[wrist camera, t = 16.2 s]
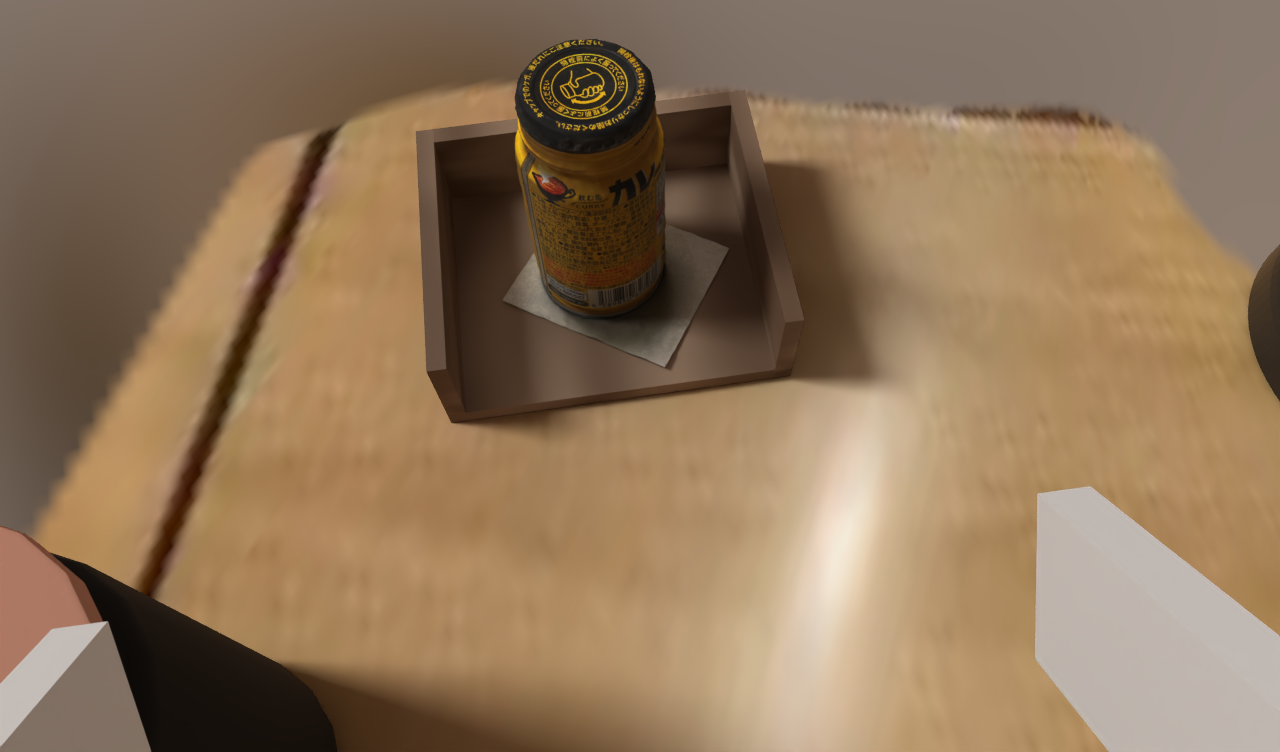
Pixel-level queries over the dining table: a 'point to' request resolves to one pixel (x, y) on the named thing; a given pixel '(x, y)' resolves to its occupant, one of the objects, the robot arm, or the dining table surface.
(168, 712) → the coffee jar
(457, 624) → the dining table surface
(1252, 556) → the dining table surface
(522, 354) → the caddy
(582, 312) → the condiment
